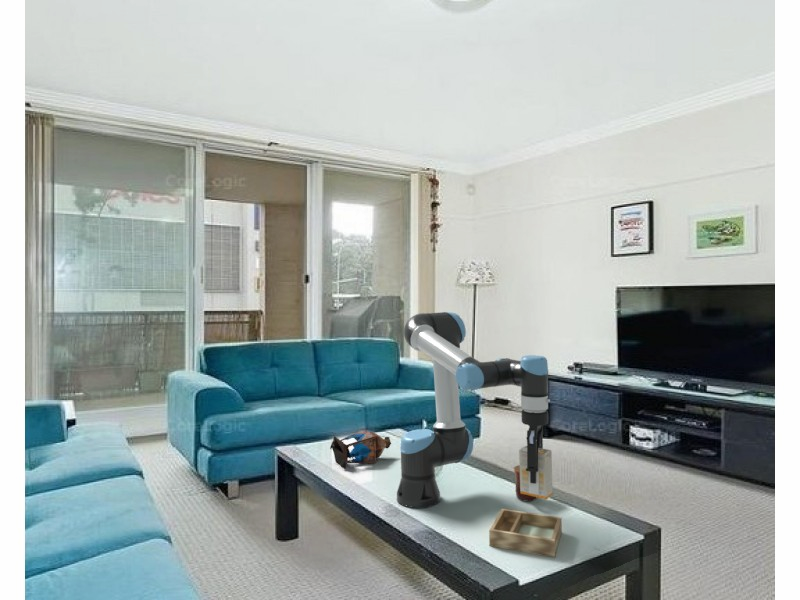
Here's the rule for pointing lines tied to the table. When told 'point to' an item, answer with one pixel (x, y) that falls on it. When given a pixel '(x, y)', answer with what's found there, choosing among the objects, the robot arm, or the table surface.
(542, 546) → the frame
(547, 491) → the supplement box
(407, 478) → the robot arm
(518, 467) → the mug
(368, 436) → the lantern
